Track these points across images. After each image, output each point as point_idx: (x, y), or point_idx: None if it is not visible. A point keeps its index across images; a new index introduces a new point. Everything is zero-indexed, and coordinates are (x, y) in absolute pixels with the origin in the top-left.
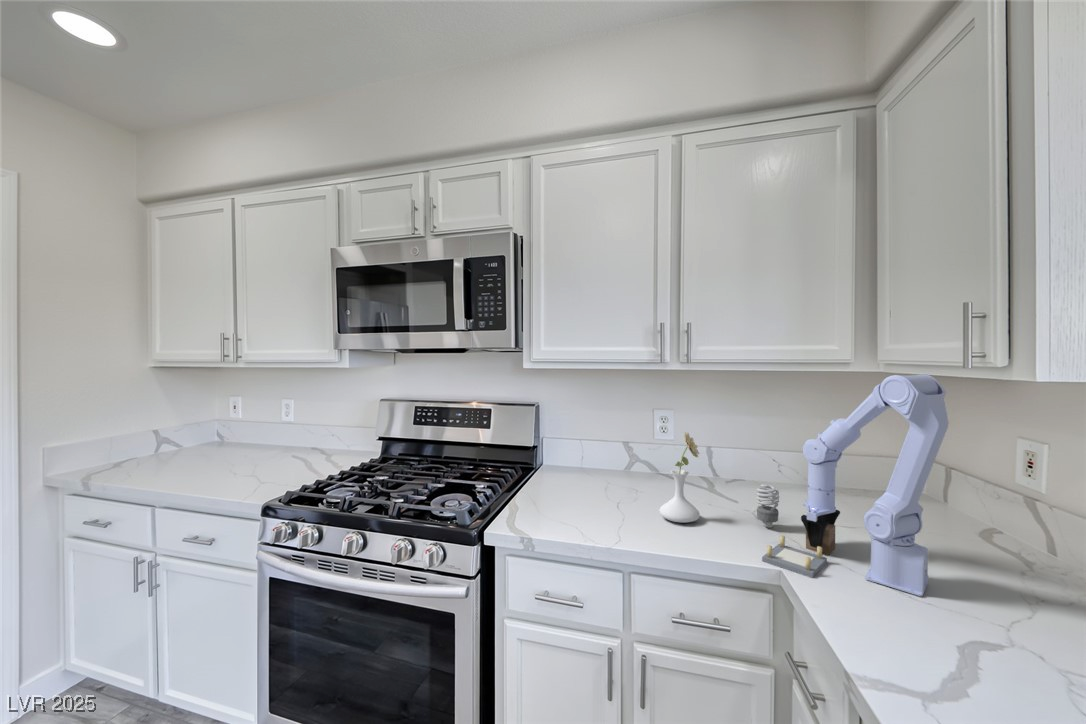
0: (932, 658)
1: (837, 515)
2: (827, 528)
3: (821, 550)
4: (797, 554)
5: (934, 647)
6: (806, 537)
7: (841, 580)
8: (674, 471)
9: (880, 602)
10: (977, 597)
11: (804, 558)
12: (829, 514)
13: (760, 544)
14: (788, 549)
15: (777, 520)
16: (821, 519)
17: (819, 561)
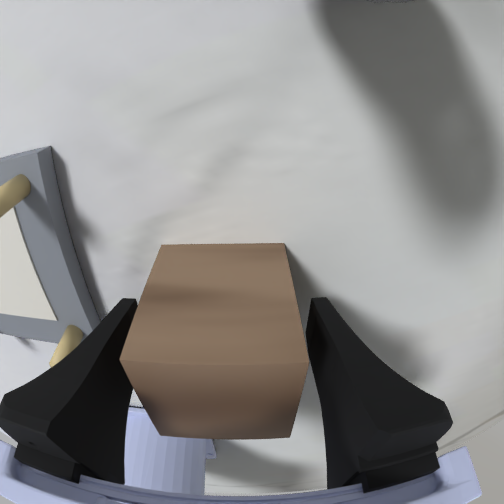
0: None
1: (327, 484)
2: (190, 430)
3: None
4: (16, 269)
5: None
6: (144, 291)
7: (46, 368)
8: None
9: None
10: (226, 473)
11: (16, 297)
12: (338, 465)
13: (18, 64)
14: (17, 224)
15: (373, 1)
16: (340, 396)
17: (49, 335)
